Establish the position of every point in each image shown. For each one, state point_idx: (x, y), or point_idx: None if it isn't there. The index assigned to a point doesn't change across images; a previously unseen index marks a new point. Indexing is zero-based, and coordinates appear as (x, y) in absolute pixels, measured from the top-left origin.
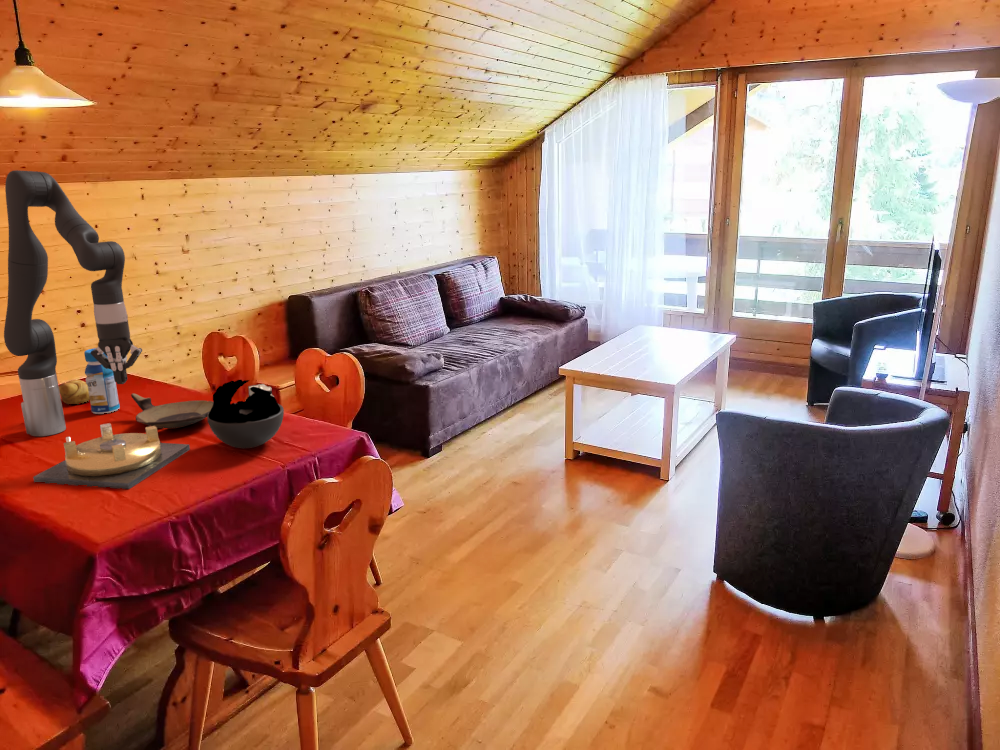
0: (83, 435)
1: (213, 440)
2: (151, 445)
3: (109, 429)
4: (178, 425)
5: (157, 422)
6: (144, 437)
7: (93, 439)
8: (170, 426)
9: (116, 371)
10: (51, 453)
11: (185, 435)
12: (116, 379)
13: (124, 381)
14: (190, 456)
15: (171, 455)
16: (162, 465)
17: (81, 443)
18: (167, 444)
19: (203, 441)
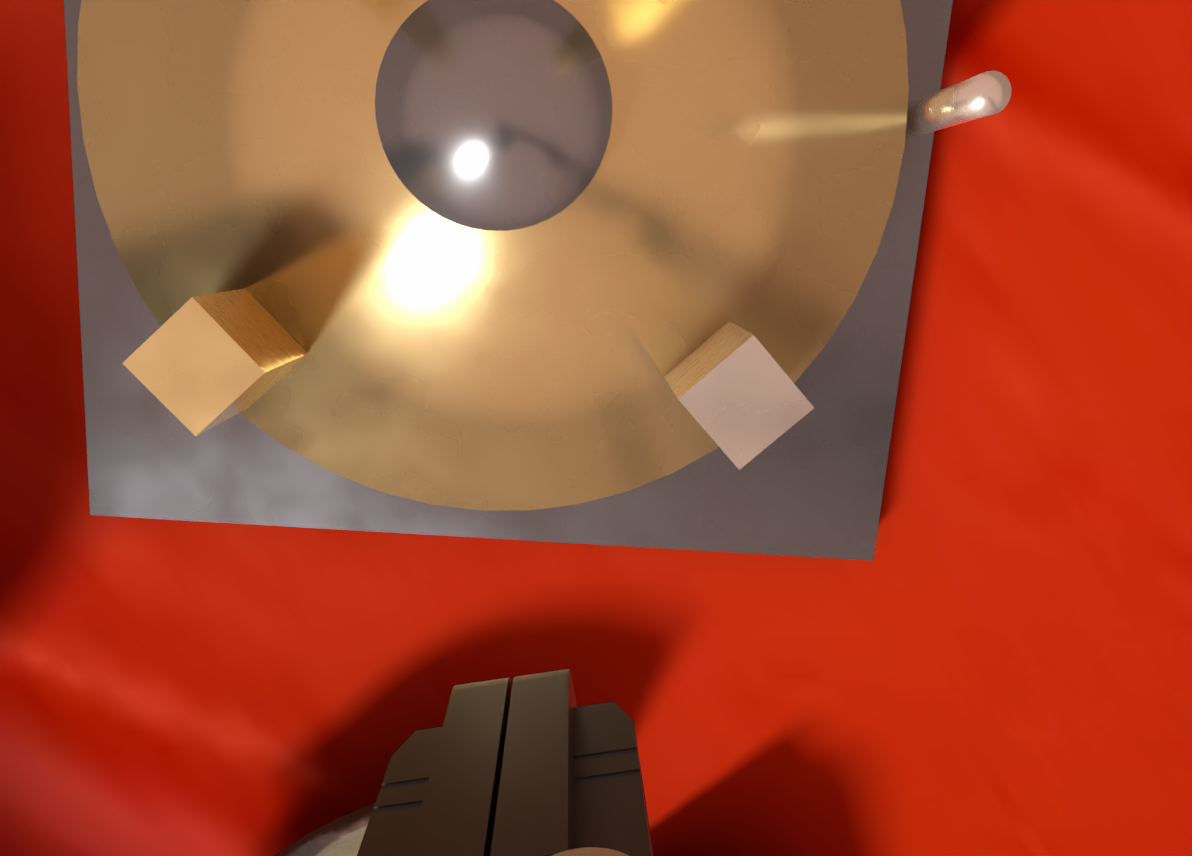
0: (1137, 705)
1: (48, 696)
2: (168, 211)
3: (690, 377)
4: None
5: None
6: (370, 409)
7: (827, 319)
8: None
9: (518, 851)
10: (1184, 332)
11: (335, 773)
12: (559, 713)
13: (419, 736)
14: (18, 365)
15: (80, 263)
16: None
17: (882, 207)
18: (275, 499)
19: (114, 670)
